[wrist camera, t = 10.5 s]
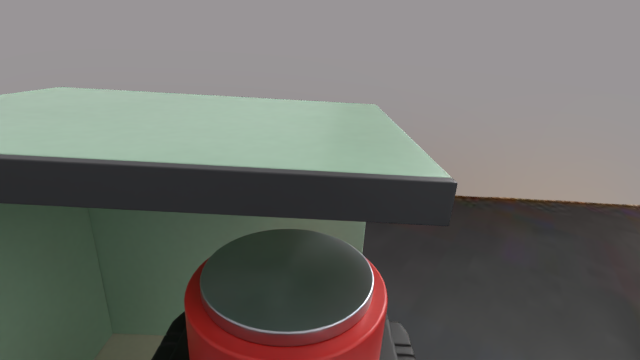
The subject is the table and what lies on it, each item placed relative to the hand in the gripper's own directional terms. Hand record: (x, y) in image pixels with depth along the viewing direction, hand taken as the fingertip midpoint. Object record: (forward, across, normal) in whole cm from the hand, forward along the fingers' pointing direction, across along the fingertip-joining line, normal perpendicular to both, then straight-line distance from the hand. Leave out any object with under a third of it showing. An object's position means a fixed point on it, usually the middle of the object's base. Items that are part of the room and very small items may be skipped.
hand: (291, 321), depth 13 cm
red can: (-3, 0, +6) cm, 7 cm away
